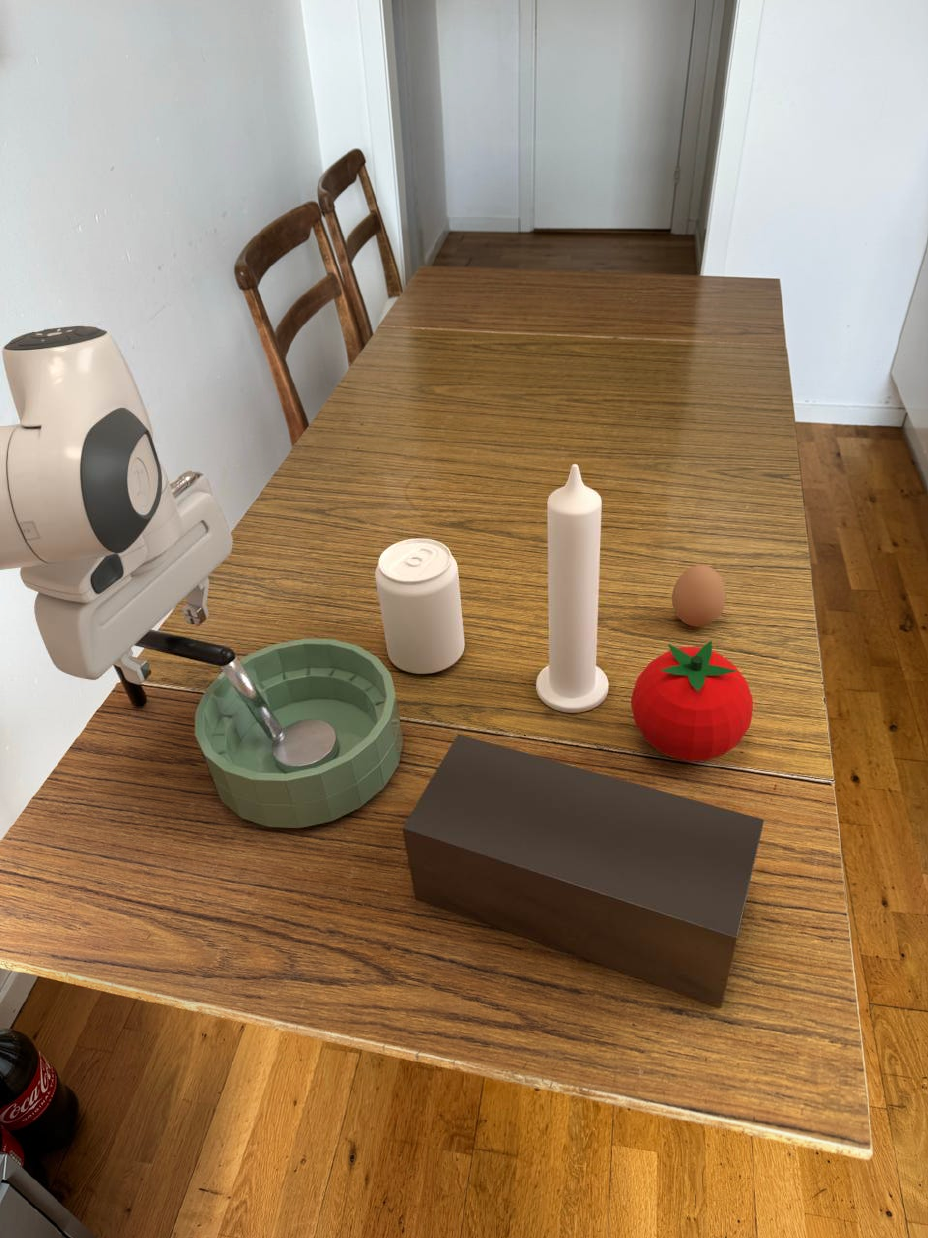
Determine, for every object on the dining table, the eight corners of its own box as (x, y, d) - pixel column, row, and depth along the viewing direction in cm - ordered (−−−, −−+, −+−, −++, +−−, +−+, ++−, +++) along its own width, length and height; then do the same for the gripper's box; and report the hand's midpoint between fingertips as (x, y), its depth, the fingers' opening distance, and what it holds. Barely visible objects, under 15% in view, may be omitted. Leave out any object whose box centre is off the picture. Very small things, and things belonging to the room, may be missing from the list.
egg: (721, 641, 92) (729, 587, 87) (667, 635, 93) (673, 581, 89) (722, 608, 96) (730, 555, 91) (671, 603, 97) (676, 550, 93)
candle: (530, 668, 90) (524, 448, 75) (599, 660, 91) (607, 439, 75) (543, 718, 85) (539, 492, 69) (616, 708, 85) (628, 481, 69)
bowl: (343, 859, 74) (330, 805, 70) (175, 799, 80) (152, 746, 76) (434, 716, 86) (427, 662, 82) (281, 674, 92) (267, 622, 88)
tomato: (741, 704, 85) (756, 623, 78) (750, 789, 77) (766, 707, 70) (630, 696, 86) (635, 616, 80) (627, 779, 79) (632, 698, 72)
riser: (721, 1008, 62) (737, 938, 56) (414, 898, 71) (401, 828, 65) (747, 892, 69) (764, 819, 63) (465, 805, 78) (458, 733, 72)
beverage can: (372, 661, 93) (356, 568, 85) (419, 618, 98) (407, 527, 90) (435, 688, 89) (423, 593, 82) (480, 642, 94) (473, 549, 87)
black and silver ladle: (350, 735, 83) (326, 647, 77) (317, 782, 79) (288, 692, 73) (153, 684, 93) (116, 601, 86) (114, 723, 89) (72, 639, 82)
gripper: (172, 455, 81) (210, 577, 90) (1, 584, 67) (66, 713, 76) (229, 466, 79) (262, 589, 88) (64, 601, 65) (123, 732, 74)
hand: (170, 648), depth 82 cm, fingers open, 7 cm apart
